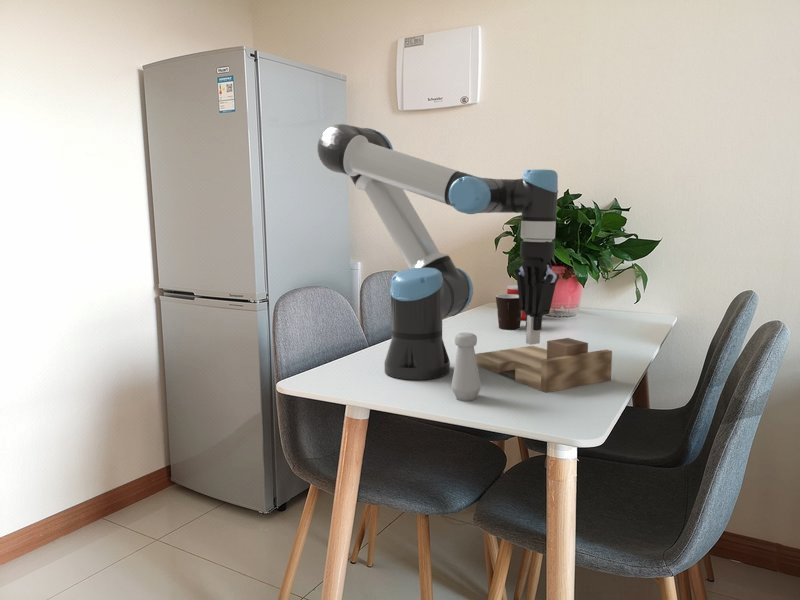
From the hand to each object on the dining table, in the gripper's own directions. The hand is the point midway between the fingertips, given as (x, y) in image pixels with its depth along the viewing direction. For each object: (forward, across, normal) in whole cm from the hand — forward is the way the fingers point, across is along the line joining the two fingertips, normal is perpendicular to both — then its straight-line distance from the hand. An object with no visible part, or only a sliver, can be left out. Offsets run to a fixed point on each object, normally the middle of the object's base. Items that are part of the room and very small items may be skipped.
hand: (532, 343), depth 139 cm
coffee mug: (+7, +42, -24) cm, 49 cm away
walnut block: (+4, -10, -1) cm, 11 cm away
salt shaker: (+7, -10, +24) cm, 27 cm away
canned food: (+7, +54, -38) cm, 67 cm away
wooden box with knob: (+6, -2, 0) cm, 7 cm away
